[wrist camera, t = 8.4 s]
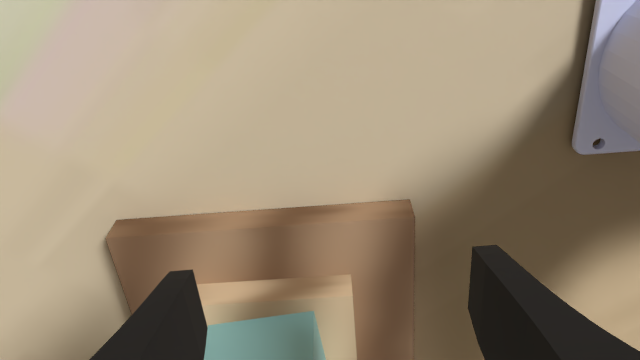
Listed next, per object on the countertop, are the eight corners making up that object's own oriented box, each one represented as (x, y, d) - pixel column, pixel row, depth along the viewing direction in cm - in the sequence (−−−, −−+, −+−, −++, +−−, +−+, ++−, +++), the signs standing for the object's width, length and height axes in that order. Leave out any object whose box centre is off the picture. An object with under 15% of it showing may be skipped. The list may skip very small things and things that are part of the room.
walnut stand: (409, 199, 24) (420, 236, 22) (409, 398, 31) (417, 445, 28) (116, 220, 25) (92, 258, 22) (179, 411, 32) (166, 458, 29)
